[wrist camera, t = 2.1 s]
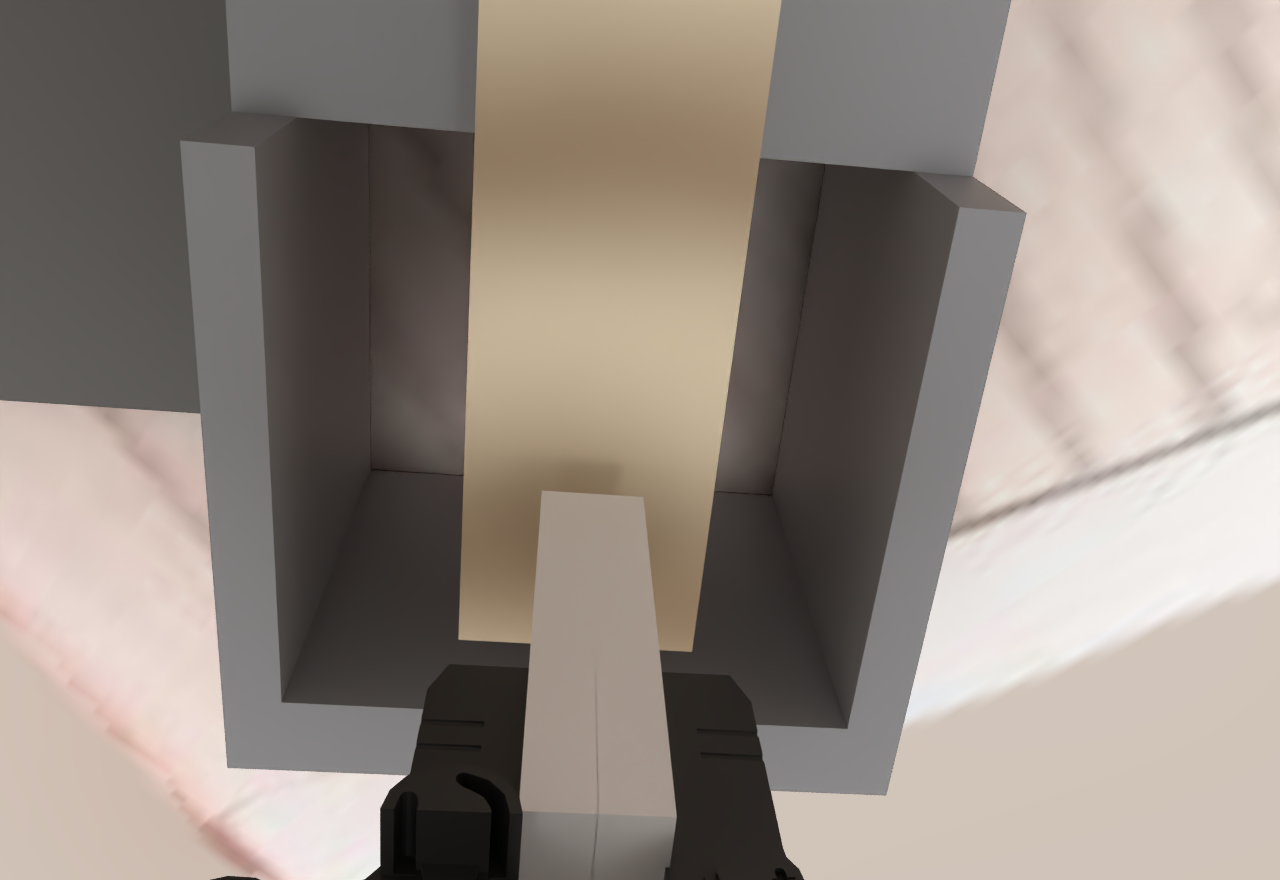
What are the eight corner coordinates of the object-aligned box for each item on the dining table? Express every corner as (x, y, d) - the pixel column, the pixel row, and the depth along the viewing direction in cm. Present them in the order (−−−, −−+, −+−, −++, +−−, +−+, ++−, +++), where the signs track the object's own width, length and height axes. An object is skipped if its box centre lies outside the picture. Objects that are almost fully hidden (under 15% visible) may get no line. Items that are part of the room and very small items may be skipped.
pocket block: (301, -698, 19) (79, -1177, 10) (1006, -596, 20) (1309, -962, 11) (330, 520, 28) (227, 767, 20) (801, 548, 29) (886, 795, 21)
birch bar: (517, -694, 14) (505, -813, 12) (837, -647, 14) (885, -755, 12) (471, 562, 21) (458, 639, 19) (680, 574, 22) (692, 652, 19)
